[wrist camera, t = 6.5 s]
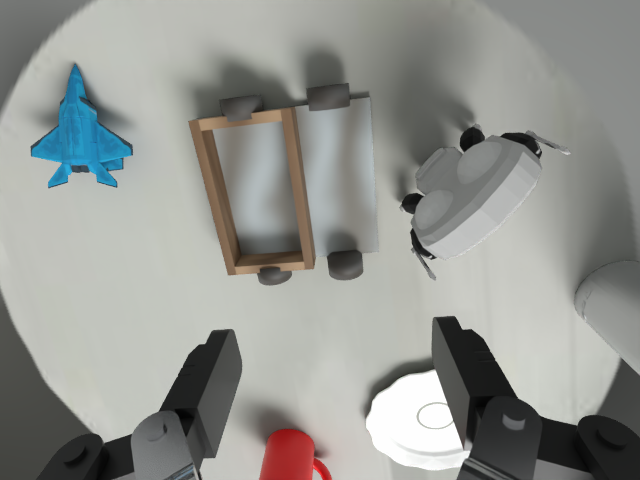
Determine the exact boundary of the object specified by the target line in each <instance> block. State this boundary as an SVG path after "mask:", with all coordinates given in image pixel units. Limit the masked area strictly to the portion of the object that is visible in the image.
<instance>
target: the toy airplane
mask: <svg viewBox="0 0 640 480" xmlns="http://www.w3.org/2000/svg"><path fill="white" fill-rule="evenodd" d="M131 155H133V149H132V145H131V144H130V143H128V142H127V141H125V140H124V139H122V138H121V137H119V136H118V135H116V134H115V133H113V132H112V131H110V130H109V129H107V128H106V127H104V126H103V125H102V124H100V123H99V122H97V113H96V107H95V106H94V105H93V104H92V103H91V102H90V101H89V100H88V99H87V97H86V95H85V90H84V85H83V80H82V78H81V75H80V72H79V70H78V68H77V66H76V64H75V65H74V67H73V69H72V71H71V74H70V77H69V82H68V88H67V91H66V95H65V97H64V99H63V100H62V101H61V102H60V110H59V125H58V126H57V127H55V128H54V129H53V130H51V131H50V132H49V133H48V134H46V135H45V136H44V137H42V138H41V139H40V140H38V141H37V142H36V143H35V144H33V145H32V146H31V156H32V157H37V158H42V159H46V160H51V161H56V162H61V163H62V164H61V166H60V167H59V168H58V170H57V171H56V172H55V174H54V175H53V177H52V178H51V179H50V181H49V182H48V188H51V187H54V186H57V185H61V184H64V183H67V182H68V175H70V174H71V173H72V172H76V173H80V172H86V173H88V172H89V171H91V172H92V173H94V174H96V175H97V182H99V183H102V184H106V185H109V186H113V187H116V188H117V181H116V180H115V179H114V178H113V177H112V176H111V175H110V174H109V172H108V171H113V170H120V169H123V157H127V156H131Z"/></svg>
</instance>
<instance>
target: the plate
mask: <svg viewBox="0 0 640 480" xmlns="http://www.w3.org/2000/svg"><path fill="white" fill-rule="evenodd" d="M431 402H444V403H447V401H446V399H445V396H444V393H443V390H442V387H441V384H440V382H439V379H438V376H437V373H436V370H435V369H433V370H430V371H427V372H424V373H414V374H408V375H405V376H403V377H401V378H398V379H397V380H396V381H395V382H394V383H393V384H392V385H391V386H390V387H388V388H386V389H385V390H383V391H381V392H379V393H378V394H377V395H376V397H375V398H374V399H373V400H372V406H371V411H370V412H369V414H368V416H367V417H366V428H367V429H368V431H369V433H370V434H371V436H372V441H373V444H374V446H375V447H376V448H377V449H378V450H379V451H381V452H383V453H385V454H387V455H389V456H390V457H391V458H392V459H393V460H394V461H395V462H397V463H400V464H402V465H405V466H414V467H420V468H423V469H427V470H443V469H447V468H451V467H461V466H462V463H463V461H464V459H465V458H468V456H469V454H470V451H464V450H463V447H462V444H461V441H460V438H459V435H458V433H457V430H456V427H455V424H454V423H453V424H451V425H450V426H448V427H446V428H443V429H438V430H433V429H427V428H425V427H423V426H421V425H420V424H419V423H418V421H417V420H416V414H417V411H418V410H419V409H420V408H421V407H422V406H423V405H425V404H427V403H431ZM419 419H420V421H421V423H422V424H424V425H425V426H428V427H431V428H440V427H444V426H446V425H448V424H449V423H450V422H451V421H452V420H453V418H452V416H451V413H450V410H449V407H448V406H446V405H443V404H432V405H428V406H426V407H424V408H423V409H422V410H421V412H420V414H419Z"/></svg>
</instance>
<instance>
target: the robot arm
mask: <svg viewBox="0 0 640 480" xmlns="http://www.w3.org/2000/svg"><path fill="white" fill-rule="evenodd" d="M574 305H575V309H576V311H577V313H578V315H579V316H580V317H581V318H582V319H583V320H584V321H585V322H586V323H587V324H588V325H589V326H590V327H591V328H592V329H593V330H594V331H595V332H596V333H597V334H598V335H599V336H600V337H601V338H602V339H603V340H604V341H605V342H606V343H607V344H608V345H609V346H610V347H611V348H612V349H614V350H615V351H616V352H617V353H618V354H619V355H620V356H621V357H622V358H623V359H624V360H625V361H626V362H627V363H628V364H629V365H630V366H631V367H632V368H633V369H634V370H635V371H636V372H637V373H638V374H639V375H640V262H639V261H619V262H614V263H610V264H608V265H605V266H603V267H601V268H599V269H597V270H595V271H594V272H592V273H591V274H590V275H589V276H587V277H586V278H585V280H584V281H583V282H582V283H581V284H580V286H579V288H578V289H577V292H576V295H575V299H574ZM432 359H433V364H434V367H435V370H436V373H437V376H438V379H439V382H440V384H441V387H442V390H443V393H444V396H445V399H446V401H447V404H448V407H449V410H450V413H451V416H452V418H453V421H454V424H455V427H456V430H457V433H458V435H459V438H460V441H461V444H462V447H463V450H464V451H470V454H469V456H468V458H465V459H464V461H463V463H462V466H461V469H460V471H459V474H458V477H457V480H640V438H639V436H637V434H636V433H634V432H633V431H632V430H631V429H630V428H628V427H627V426H625V425H623V424H622V423H620V422H618V421H616V420H613V419H611V418H608V417H605V416H599V415H589V416H585V417H583V418H582V419H581V420H580V421H579V423H578V426H576V425H572V424H568V423H563V422H559V421H554V420H550V419H547V418H544V417H542V416H540V415H539V414H538V413H537V412H536V410H535V409H534V408H533V407H531V406H530V405H529V404H527V403H526V402H524V401H522V400H520V399H518V397H517V396H516V394H515V392H514V391H513V389H512V387H511V385H510V384H509V382H508V380H507V379H506V377H505V375H504V373H503V372H502V370H501V368H500V367H499V365H498V363H497V362H496V361H495V358H494V356H493V354H492V353H491V352H490V349H489V348H488V346H487V344H486V342H485V341H484V339H483V338H482V337H481V336H479V335H478V334H477V333H476V332H474V331H473V330H472V329H468V330H462V328H461V326H460V324H459V322H458V320H457V319H456V317H455V316H446V317H434V318H433V324H432ZM241 373H242V359H241V355H240V351H239V347H238V344H237V340H236V336H235V332H234V330H233V329H225V330H213V331H212V332H211V334H210V336H209V338H208V340H207V342H206V344H200V345H198V346H197V347H196V348H195V349H194V350H193V351H192V352H191V353H190V354H189V355H188V357H187V359H186V361H185V363H184V365H183V368H181V370H180V372H179V374H178V377H177V378H176V380H175V382H174V383H173V385H172V387H171V389H170V391H169V393H168V395H167V397H166V399H165V400H164V402H163V404H162V406H161V408H160V410H159V412H157V413H154V414H152V415H150V416H148V417H147V418H146V419H144V420H143V421H142V422H141V423H140V424H139V425H138V426H137V427H136V429H135V430H134V432H133V434H130V435H128V436H125V437H122V438H119V439H115V440H112V441H109V442H106V443H104V442H103V440H102V438H101V437H100V436H99V435H97V434H85V435H81V436H79V437H77V438H75V439H73V440H71V441H69V442H68V443H67V444H65V445H64V446H63V447H62V448H61V449H59V450H58V451H57V453H56V454H55V455H54V456H53V457H52V459H51V460H50V461H49V463H48V464H47V465H46V467H45V468H44V470H43V471H42V472H41V474H40V475H39V476H38V478H37V479H36V480H203V478H202V475H201V472H200V467H201V464H202V461H203V458H215V457H216V454H217V451H218V447H219V444H220V441H221V438H222V435H223V431H224V428H225V425H226V422H227V419H228V416H229V412H230V409H231V406H232V403H233V400H234V396H235V393H236V390H237V387H238V384H239V380H240V377H241Z"/></svg>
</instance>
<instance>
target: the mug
mask: <svg viewBox="0 0 640 480" xmlns="http://www.w3.org/2000/svg"><path fill="white" fill-rule="evenodd" d="M314 450H315V445H314V442H313V440H312V439H311V438H310V437H309V436H308V435H307V434H305V433H303V432H301V431H298V430H294V429H282V430H278V431H276V432H274V433H272V434H271V435H270V436H269V438H268V441H267V445H266V450H265V454H264V459H263V464H262V468H261V473H260V478H259V480H312V474H313V468H314V469H315V470H316V471H318V472H319V474H320V475H321V477H322V479H323V480H332V478H331V475H330V472H329V471H328V469H327V467H326V466H325V465H324V464H323V463H322V462H321V461H320V460H318V459H316V458H314Z"/></svg>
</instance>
